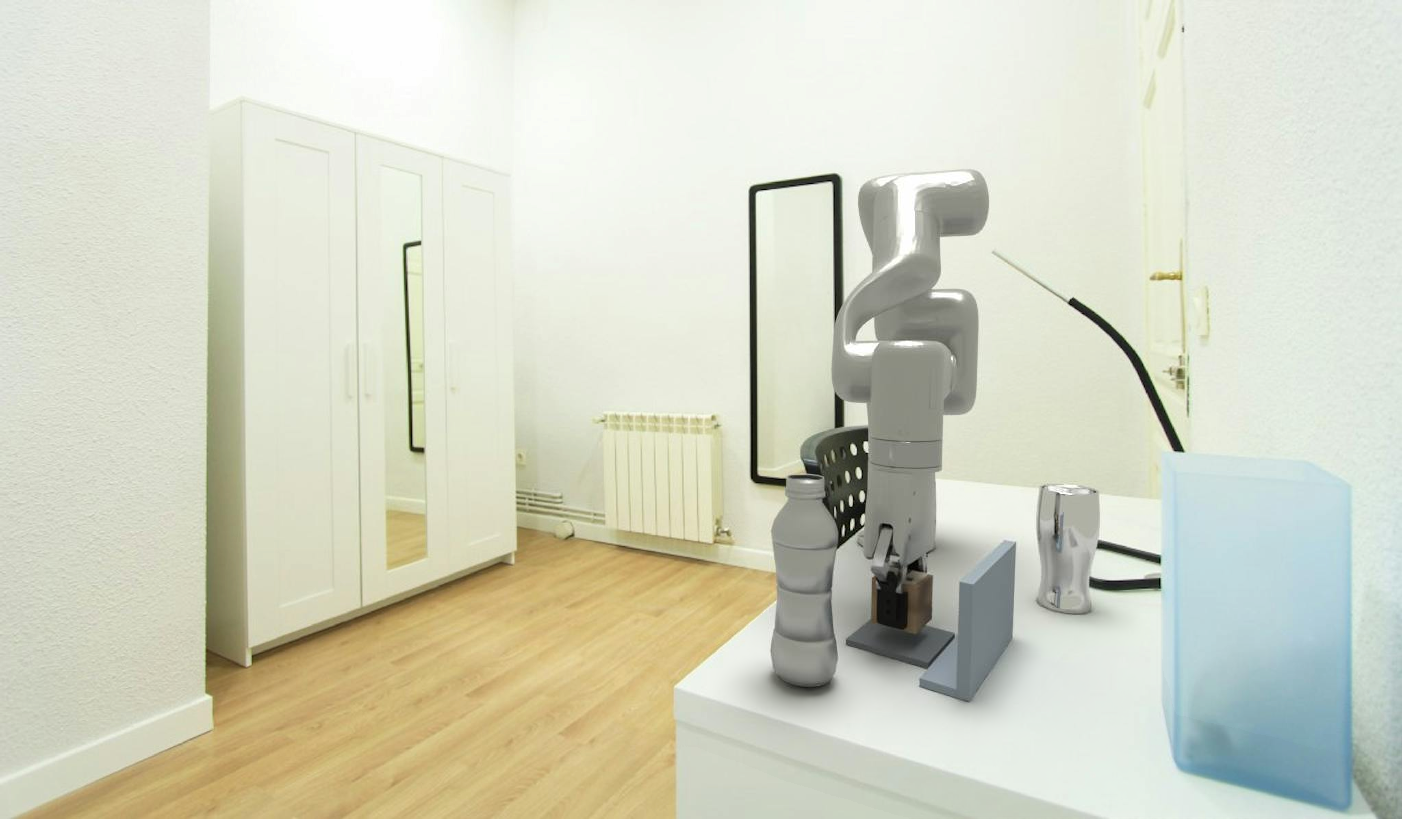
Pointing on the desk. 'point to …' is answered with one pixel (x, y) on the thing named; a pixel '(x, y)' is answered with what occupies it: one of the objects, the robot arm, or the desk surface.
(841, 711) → the desk surface
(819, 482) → the plastic bottle
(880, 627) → the mat
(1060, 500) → the beer glass
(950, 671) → the screen
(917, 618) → the letter cube
